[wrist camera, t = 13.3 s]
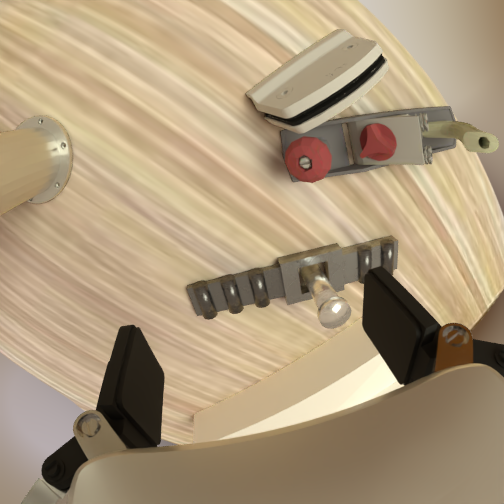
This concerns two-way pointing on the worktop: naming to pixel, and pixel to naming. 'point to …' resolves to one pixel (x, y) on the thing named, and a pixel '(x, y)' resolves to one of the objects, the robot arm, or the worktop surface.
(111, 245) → the worktop surface
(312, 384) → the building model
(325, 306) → the pin
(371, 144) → the hand plane
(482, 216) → the worktop surface
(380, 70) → the beige arched grooved block
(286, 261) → the knobbed grey strip
